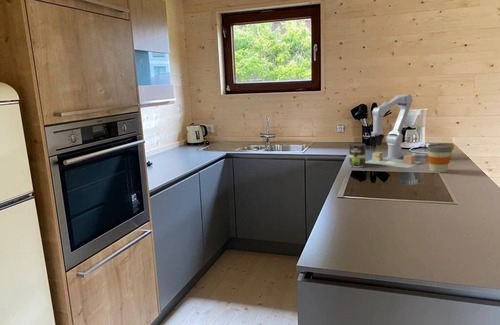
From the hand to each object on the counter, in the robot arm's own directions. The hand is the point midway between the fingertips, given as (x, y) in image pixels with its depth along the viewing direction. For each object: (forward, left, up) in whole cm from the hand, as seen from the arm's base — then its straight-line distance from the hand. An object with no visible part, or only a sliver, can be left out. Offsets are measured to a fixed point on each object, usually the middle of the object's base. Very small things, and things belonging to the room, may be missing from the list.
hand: (376, 146), depth 254 cm
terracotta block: (-2, +21, -10) cm, 23 cm away
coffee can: (+18, -4, -11) cm, 21 cm away
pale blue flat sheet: (0, +11, -10) cm, 15 cm away
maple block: (-1, 0, -10) cm, 10 cm away
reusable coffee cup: (+6, +42, -11) cm, 44 cm away
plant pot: (-29, +33, -11) cm, 45 cm away
